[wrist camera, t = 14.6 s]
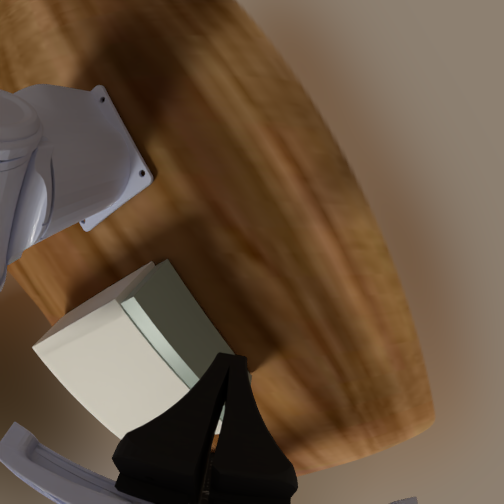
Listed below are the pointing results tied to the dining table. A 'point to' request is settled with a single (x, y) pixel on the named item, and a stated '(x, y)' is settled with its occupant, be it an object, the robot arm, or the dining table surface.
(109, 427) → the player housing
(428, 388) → the dining table surface
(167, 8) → the dining table surface
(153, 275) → the grey green drawer
